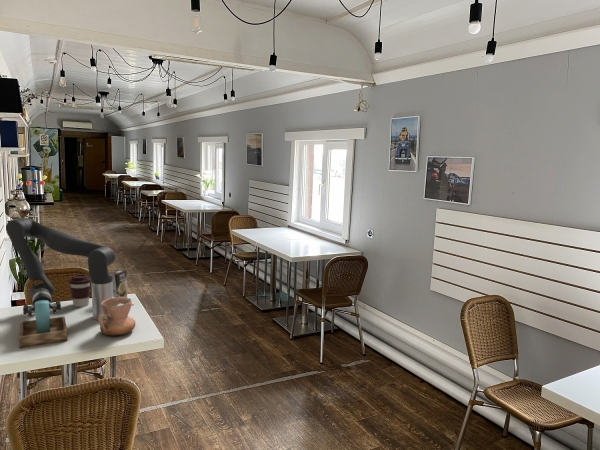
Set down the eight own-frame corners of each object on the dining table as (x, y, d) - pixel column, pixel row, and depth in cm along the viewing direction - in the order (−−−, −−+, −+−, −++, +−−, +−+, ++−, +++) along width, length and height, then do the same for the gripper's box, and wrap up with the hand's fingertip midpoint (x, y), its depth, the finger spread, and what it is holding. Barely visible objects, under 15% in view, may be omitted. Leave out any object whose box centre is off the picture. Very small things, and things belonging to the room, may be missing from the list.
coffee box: (117, 304, 238) (116, 274, 235) (106, 303, 239) (105, 273, 237) (127, 299, 247) (127, 269, 244) (116, 298, 248) (115, 268, 245)
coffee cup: (78, 300, 242) (76, 272, 240) (95, 302, 241) (94, 274, 238) (66, 307, 232) (64, 277, 230) (84, 308, 231) (83, 279, 229)
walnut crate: (65, 325, 209) (64, 316, 208) (67, 340, 194) (66, 330, 193) (21, 331, 201) (20, 321, 200) (19, 348, 186) (18, 337, 185)
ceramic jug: (123, 322, 215) (121, 292, 213) (145, 329, 208) (143, 298, 206) (88, 335, 200) (86, 304, 198) (110, 343, 193) (108, 311, 190)
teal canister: (50, 330, 201) (48, 299, 199) (50, 335, 196) (49, 303, 194) (36, 332, 198) (34, 301, 196) (36, 337, 194) (34, 304, 192)
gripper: (23, 295, 206) (22, 306, 192) (59, 291, 213) (61, 302, 199) (24, 311, 207) (23, 324, 194) (60, 306, 214) (62, 318, 200)
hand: (42, 312), depth 196 cm, fingers open, 8 cm apart
